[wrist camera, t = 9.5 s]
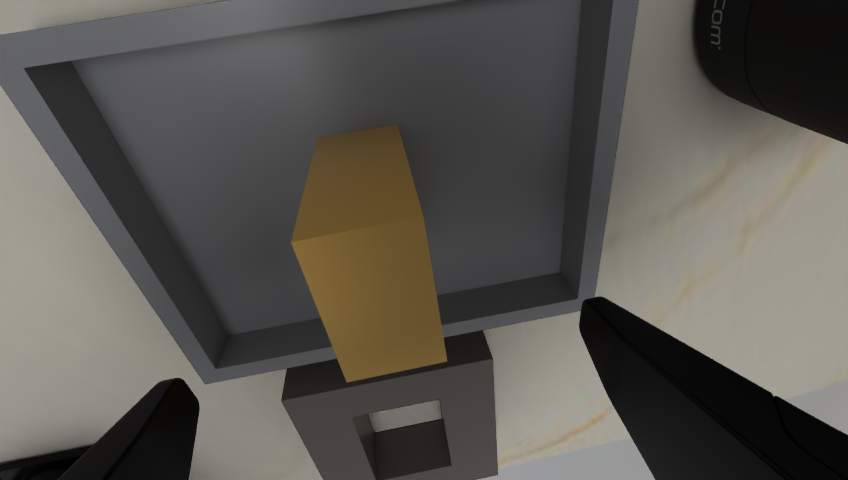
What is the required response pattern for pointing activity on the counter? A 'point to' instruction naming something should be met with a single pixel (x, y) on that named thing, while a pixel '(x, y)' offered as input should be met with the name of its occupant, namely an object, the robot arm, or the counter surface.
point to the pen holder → (781, 58)
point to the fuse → (369, 255)
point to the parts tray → (322, 117)
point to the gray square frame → (409, 446)
